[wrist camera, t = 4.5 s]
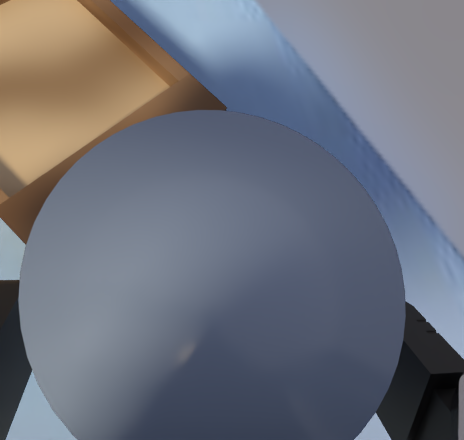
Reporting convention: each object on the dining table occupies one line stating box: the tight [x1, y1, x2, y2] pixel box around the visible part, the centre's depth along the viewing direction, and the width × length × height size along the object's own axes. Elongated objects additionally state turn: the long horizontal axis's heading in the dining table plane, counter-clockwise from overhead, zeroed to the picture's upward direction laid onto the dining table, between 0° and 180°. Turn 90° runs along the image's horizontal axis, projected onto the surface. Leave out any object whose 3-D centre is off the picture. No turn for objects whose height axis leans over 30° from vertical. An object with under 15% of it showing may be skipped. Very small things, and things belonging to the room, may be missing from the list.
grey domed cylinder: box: [18, 110, 406, 440], centre depth 11 cm, size 6×6×11 cm
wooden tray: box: [0, 0, 227, 244], centre depth 17 cm, size 12×9×4 cm
